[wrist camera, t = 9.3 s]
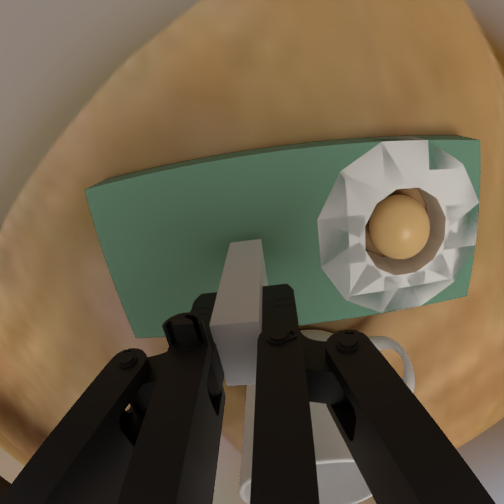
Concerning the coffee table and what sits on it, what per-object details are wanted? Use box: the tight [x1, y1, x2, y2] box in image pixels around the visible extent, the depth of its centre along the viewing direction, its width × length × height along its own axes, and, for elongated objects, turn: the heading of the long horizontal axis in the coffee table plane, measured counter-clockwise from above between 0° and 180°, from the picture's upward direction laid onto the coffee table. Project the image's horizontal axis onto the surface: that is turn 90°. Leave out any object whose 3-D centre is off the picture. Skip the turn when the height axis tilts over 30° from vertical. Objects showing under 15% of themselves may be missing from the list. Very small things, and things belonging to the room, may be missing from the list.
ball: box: [369, 195, 430, 259], centre depth 16 cm, size 4×4×4 cm
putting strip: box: [85, 135, 480, 338], centre depth 18 cm, size 22×10×2 cm, turn 99°
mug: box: [239, 330, 415, 504], centre depth 18 cm, size 9×12×11 cm
